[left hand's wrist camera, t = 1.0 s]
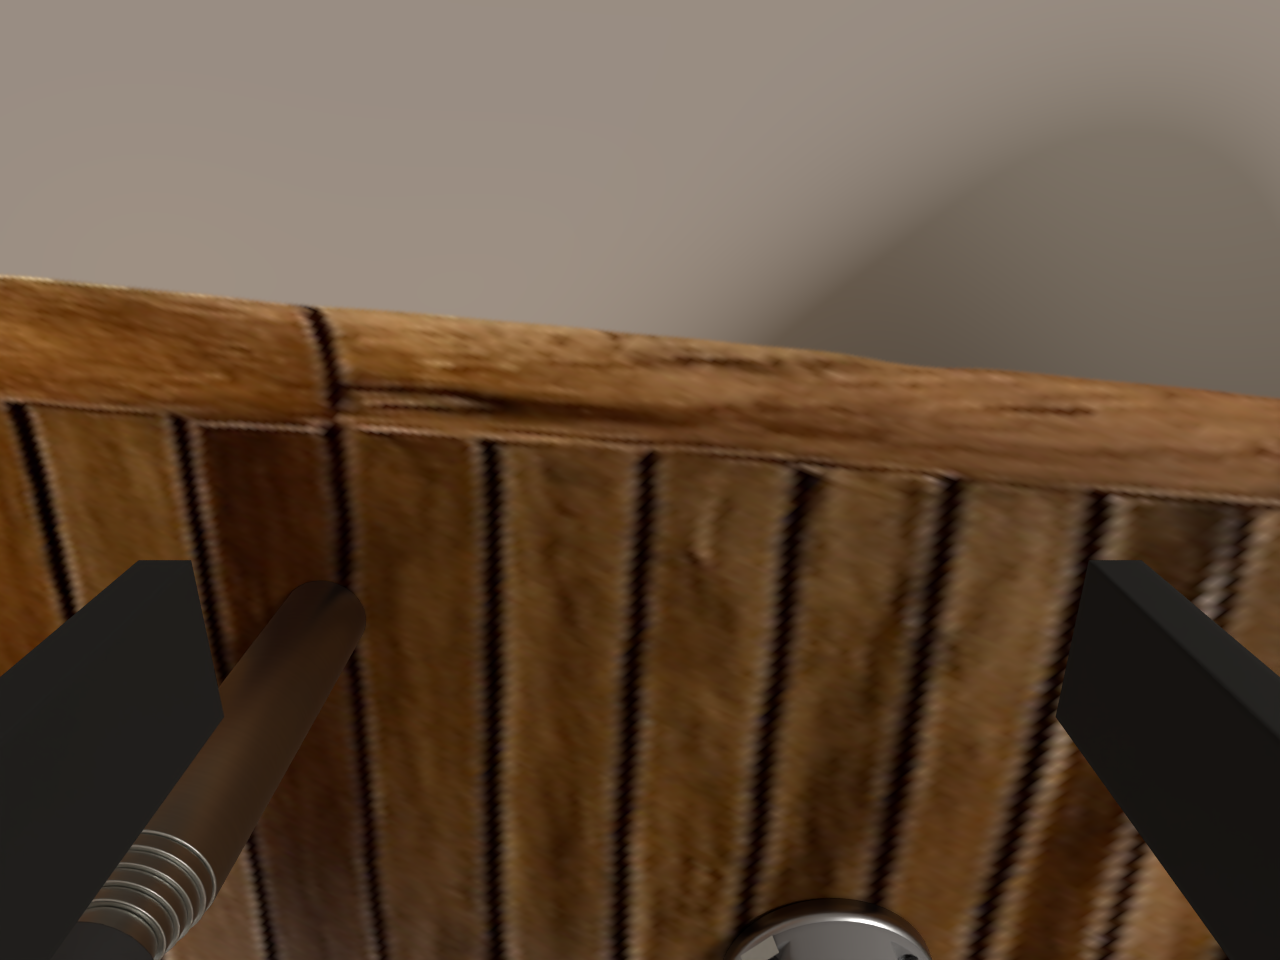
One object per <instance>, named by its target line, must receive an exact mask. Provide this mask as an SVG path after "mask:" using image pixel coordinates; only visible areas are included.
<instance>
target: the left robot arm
mask: <svg viewBox="0 0 1280 960" xmlns="http://www.w3.org/2000/svg"><path fill="white" fill-rule="evenodd" d="M223 718H224V713H223V708H222V704H221V699H220V694H219V690H218V685H217V680H216V675H215V671H214V666H213V661H212V657H211V652H210V647H209V643H208V638H207V633H206V628H205V624H204V619H203V614H202V610H201V605H200V600H199V596H198V591H197V586H196V581H195V577H194V572H193V567H192V563H191V560H139V561H137V562H136V563H135V564H134V565H133V566H131V567H130V568H129V569H128V570H127V571H125V572H124V573H123V574H122V575H121V576H120V577H118V578H117V579H116V580H115V581H114V582H112V583H111V584H110V585H109V586H108V587H107V588H105V589H104V590H103V591H102V592H101V593H99V594H98V595H97V596H96V597H95V598H93V599H92V600H91V601H90V602H89V603H88V604H86V605H85V606H84V607H83V608H82V609H80V610H79V611H78V612H77V613H76V614H75V615H73V616H72V617H71V618H70V619H69V620H67V621H66V622H65V623H64V624H63V625H61V626H60V627H59V628H58V629H57V630H56V631H54V632H53V633H52V634H51V635H50V636H48V637H47V638H46V639H45V640H44V641H43V642H41V643H40V644H39V645H38V646H37V647H35V648H34V649H33V650H32V651H31V652H29V653H28V654H27V655H26V656H25V657H24V658H22V659H21V660H20V661H19V662H18V663H16V664H15V665H14V666H13V667H12V668H11V669H9V670H8V671H7V672H6V673H5V674H3V675H2V676H1V677H0V960H50V959H51V958H52V956H53V955H54V954H55V952H56V951H57V949H58V948H59V947H60V945H61V944H62V942H63V941H64V940H65V938H66V937H67V935H68V934H69V933H70V931H71V930H72V928H73V927H74V926H75V924H76V923H77V921H78V920H79V919H80V917H81V916H82V915H83V913H84V912H85V910H86V909H87V908H88V906H89V905H90V903H91V902H92V901H93V899H94V898H95V896H96V895H97V894H98V892H99V891H100V889H101V888H102V887H103V885H104V884H105V882H106V881H107V880H108V878H109V877H110V875H111V874H112V873H113V871H114V870H115V869H116V867H117V866H118V864H119V863H120V862H121V860H122V859H123V857H124V856H125V855H126V853H127V852H128V850H129V849H130V848H131V846H132V845H133V843H134V842H135V841H136V839H137V838H138V836H139V835H140V834H141V832H142V831H143V829H144V828H145V827H146V825H147V824H148V823H149V821H150V820H151V818H152V817H153V816H154V814H155V813H156V811H157V810H158V809H159V807H160V806H161V804H162V803H163V802H164V800H165V799H166V797H167V796H168V795H169V793H170V792H171V790H172V789H173V788H174V786H175V785H176V783H177V782H178V781H179V779H180V778H181V777H182V775H183V774H184V772H185V771H186V770H187V768H188V767H189V765H190V764H191V763H192V761H193V760H194V758H195V757H196V756H197V754H198V753H199V751H200V750H201V749H202V747H203V746H204V744H205V743H206V742H207V740H208V739H209V737H210V736H211V735H212V733H213V732H214V731H215V729H216V728H217V726H218V725H219V724H220V722H221V721H222V719H223ZM1056 718H1057V719H1058V721H1059V722H1060V724H1061V725H1062V726H1063V728H1064V729H1065V731H1066V732H1067V733H1068V735H1069V736H1070V737H1071V739H1072V740H1073V742H1074V743H1075V744H1076V746H1077V747H1078V749H1079V750H1080V751H1081V753H1082V754H1083V756H1084V757H1085V758H1086V760H1087V761H1088V763H1089V764H1090V765H1091V767H1092V768H1093V770H1094V771H1095V772H1096V774H1097V775H1098V777H1099V778H1100V779H1101V781H1102V782H1103V783H1104V785H1105V786H1106V788H1107V789H1108V790H1109V792H1110V793H1111V795H1112V796H1113V797H1114V799H1115V800H1116V802H1117V803H1118V804H1119V806H1120V807H1121V809H1122V810H1123V811H1124V813H1125V814H1126V816H1127V817H1128V818H1129V820H1130V821H1131V823H1132V824H1133V825H1134V827H1135V828H1136V829H1137V831H1138V832H1139V834H1140V835H1141V836H1142V838H1143V839H1144V841H1145V842H1146V843H1147V845H1148V846H1149V848H1150V849H1151V850H1152V852H1153V853H1154V855H1155V856H1156V857H1157V859H1158V860H1159V862H1160V863H1161V864H1162V866H1163V867H1164V869H1165V870H1166V871H1167V873H1168V874H1169V875H1170V877H1171V878H1172V880H1173V881H1174V882H1175V884H1176V885H1177V887H1178V888H1179V889H1180V891H1181V892H1182V894H1183V895H1184V896H1185V898H1186V899H1187V901H1188V902H1189V903H1190V905H1191V906H1192V908H1193V909H1194V910H1195V912H1196V913H1197V915H1198V916H1199V917H1200V919H1201V920H1202V921H1203V923H1204V924H1205V926H1206V927H1207V928H1208V930H1209V931H1210V933H1211V934H1212V935H1213V937H1214V938H1215V940H1216V941H1217V942H1218V944H1219V945H1220V947H1221V948H1222V949H1223V951H1224V952H1225V954H1226V955H1227V956H1228V958H1229V959H1230V960H1280V677H1279V676H1278V675H1277V674H1275V673H1274V672H1273V671H1272V670H1271V669H1269V668H1268V667H1267V666H1266V665H1265V664H1264V663H1262V662H1261V661H1260V660H1259V659H1258V658H1256V657H1255V656H1254V655H1253V654H1252V653H1251V652H1249V651H1248V650H1247V649H1246V648H1245V647H1243V646H1242V645H1241V644H1240V643H1239V642H1237V641H1236V640H1235V639H1234V638H1233V637H1232V636H1230V635H1229V634H1228V633H1227V632H1226V631H1224V630H1223V629H1222V628H1221V627H1220V626H1219V625H1217V624H1216V623H1215V622H1214V621H1213V620H1211V619H1210V618H1209V617H1208V616H1207V615H1205V614H1204V613H1203V612H1202V611H1201V610H1200V609H1198V608H1197V607H1196V606H1195V605H1194V604H1192V603H1191V602H1190V601H1189V600H1188V599H1187V598H1185V597H1184V596H1183V595H1182V594H1181V593H1179V592H1178V591H1177V590H1176V589H1175V588H1173V587H1172V586H1171V585H1170V584H1169V583H1168V582H1166V581H1165V580H1164V579H1163V578H1162V577H1160V576H1159V575H1158V574H1157V573H1156V572H1155V571H1153V570H1152V569H1151V568H1150V567H1149V566H1147V565H1146V564H1145V563H1144V562H1143V561H1141V560H1089V563H1088V567H1087V572H1086V577H1085V581H1084V586H1083V591H1082V596H1081V600H1080V605H1079V610H1078V614H1077V619H1076V624H1075V628H1074V633H1073V638H1072V643H1071V647H1070V652H1069V657H1068V661H1067V666H1066V671H1065V675H1064V680H1063V685H1062V690H1061V694H1060V699H1059V704H1058V708H1057V713H1056ZM723 960H932V958H931V955H930V953H929V950H928V947H927V945H926V943H925V941H924V940H923V938H922V937H921V935H920V934H919V933H918V932H917V930H916V929H915V928H914V927H913V926H912V925H911V924H910V923H908V922H907V921H906V920H904V919H903V918H902V917H900V916H899V915H897V914H895V913H894V912H892V911H889V910H887V909H885V908H883V907H880V906H877V905H874V904H871V903H867V902H863V901H857V900H850V899H834V898H833V899H817V900H810V901H804V902H800V903H796V904H792V905H789V906H786V907H783V908H780V909H778V910H776V911H773V912H771V913H769V914H767V915H765V916H763V917H762V918H760V919H759V920H757V921H755V922H754V923H753V924H751V925H750V926H749V927H747V928H746V929H745V930H744V931H743V932H742V933H741V934H740V935H739V936H738V937H737V938H736V939H735V940H734V942H733V943H732V945H731V946H730V947H729V949H728V951H727V953H726V954H725V956H724V959H723Z"/></svg>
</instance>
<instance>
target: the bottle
mask: <svg viewBox="0 0 1280 960" xmlns="http://www.w3.org/2000/svg"><path fill="white" fill-rule="evenodd" d="M365 626H366V616H365V611H364V609H363V606H362V604H361V602H360V601H359V600H358V598H357V597H356V596H355V595H354V594H353V593H352V592H351V591H349V590H348V589H346V588H345V587H343V586H341V585H339V584H336V583H333V582H328V581H312V582H308V583H305V584H303V585H301V586H299V587H297V588H296V589H295V590H294V591H293V592H292V593H291V594H290V595H289V596H288V598H287V599H286V600H285V602H284V603H283V604H282V606H281V607H280V608H279V610H278V611H277V612H276V613H275V615H274V616H273V617H272V619H271V620H270V621H269V623H268V624H267V625H266V626H265V628H264V629H263V630H262V632H261V633H260V634H259V636H258V637H257V638H256V640H255V641H254V642H253V643H252V645H251V646H250V647H249V649H248V650H247V651H246V653H245V654H244V655H243V657H242V658H241V659H240V660H239V662H238V663H237V664H236V666H235V667H234V668H233V670H232V671H231V672H230V674H229V675H228V676H227V677H226V679H225V680H224V681H223V683H222V684H221V685H220V687H219V688H218V690H219V694H220V699H221V704H222V708H223V713H224V718H223V719H222V721H221V722H220V724H219V725H218V726H217V728H216V729H215V731H214V732H213V733H212V735H211V736H210V737H209V739H208V740H207V742H206V743H205V744H204V746H203V747H202V749H201V750H200V751H199V753H198V754H197V756H196V757H195V758H194V760H193V761H192V763H191V764H190V765H189V767H188V768H187V770H186V771H185V772H184V774H183V775H182V777H181V778H180V779H179V781H178V782H177V783H176V785H175V786H174V788H173V789H172V790H171V792H170V793H169V795H168V796H167V797H166V799H165V800H164V802H163V803H162V804H161V806H160V807H159V809H158V810H157V811H156V813H155V814H154V816H153V817H152V818H151V820H150V821H149V823H148V824H147V825H146V827H145V828H144V829H143V831H142V832H141V834H140V835H139V836H138V838H137V839H136V841H135V842H134V843H133V845H132V846H131V848H130V849H129V850H128V852H127V853H126V855H125V856H124V857H123V859H122V860H121V862H120V863H119V864H118V866H117V867H116V869H115V870H114V871H113V873H112V874H111V875H110V877H109V878H108V880H107V881H106V882H105V884H104V885H103V887H102V888H101V889H100V891H99V892H98V894H97V895H96V896H95V898H94V899H93V901H92V902H91V903H90V905H89V906H88V908H87V909H86V910H85V912H84V913H83V915H82V916H81V917H80V919H79V920H78V921H83V922H94V923H101V924H104V925H107V926H110V927H113V928H116V929H118V930H120V931H122V932H124V933H126V934H128V935H130V936H132V937H133V938H134V939H136V940H137V941H138V942H139V943H141V944H142V945H143V946H144V947H145V948H146V949H147V950H148V952H149V953H150V954H151V955H152V957H153V959H154V960H160V959H161V958H162V957H163V955H164V954H165V953H167V952H168V951H169V950H170V949H172V947H173V946H174V945H175V944H176V942H177V941H179V940H180V939H181V938H182V937H184V936H185V935H186V933H187V932H188V931H189V929H190V928H191V927H193V926H194V925H195V924H196V923H197V922H198V921H199V920H200V919H201V917H202V916H203V914H204V912H205V911H206V910H207V909H208V908H209V907H210V906H211V904H212V903H213V901H214V899H215V898H216V896H217V894H218V892H219V890H220V889H221V887H222V885H223V883H224V881H225V880H226V878H227V876H228V874H229V872H230V871H231V869H232V867H233V865H234V864H235V862H236V860H237V858H238V856H239V855H240V853H241V851H242V849H243V847H244V846H245V844H246V842H247V840H248V838H249V837H250V835H251V833H252V831H253V830H254V828H255V826H256V824H257V822H258V821H259V819H260V817H261V815H262V813H263V812H264V810H265V808H266V806H267V804H268V803H269V801H270V799H271V797H272V796H273V794H274V792H275V790H276V788H277V787H278V785H279V783H280V781H281V779H282V778H283V776H284V774H285V772H286V770H287V769H288V767H289V765H290V763H291V761H292V760H293V758H294V756H295V754H296V753H297V751H298V749H299V747H300V745H301V744H302V742H303V740H304V738H305V736H306V735H307V733H308V731H309V729H310V727H311V726H312V724H313V722H314V720H315V719H316V717H317V715H318V713H319V711H320V710H321V708H322V706H323V704H324V702H325V701H326V699H327V697H328V695H329V693H330V692H331V690H332V688H333V686H334V684H335V683H336V681H337V679H338V677H339V676H340V674H341V672H342V670H343V668H344V667H345V665H346V663H347V661H348V659H349V658H350V656H351V654H352V652H353V650H354V649H355V647H356V645H357V643H358V642H359V640H360V638H361V636H362V634H363V632H364V630H365Z"/></svg>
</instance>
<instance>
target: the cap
mask: <svg viewBox="0 0 1280 960" xmlns="http://www.w3.org/2000/svg"><path fill="white" fill-rule="evenodd" d="M50 960H154V959H153V957H152V955H151V954H150V953H149V952H148V950H147V949H146V948H145V947H144V946H143V945H142V944H141V943H139V942H138V941H137V940H136V939H134V938H133V937H132V936H130V935H128V934H126V933H124V932H122V931H120V930H118V929H116V928H113V927H110V926H107V925H104V924H101V923H94V922H83V921H77V923H76V924H75V926H74V927H73V928H72V930H71V931H70V933H69V934H68V935H67V937H66V938H65V940H64V941H63V942H62V944H61V945H60V947H59V948H58V949H57V951H56V952H55V954H54V955H53V956H52V958H51V959H50Z"/></svg>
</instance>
